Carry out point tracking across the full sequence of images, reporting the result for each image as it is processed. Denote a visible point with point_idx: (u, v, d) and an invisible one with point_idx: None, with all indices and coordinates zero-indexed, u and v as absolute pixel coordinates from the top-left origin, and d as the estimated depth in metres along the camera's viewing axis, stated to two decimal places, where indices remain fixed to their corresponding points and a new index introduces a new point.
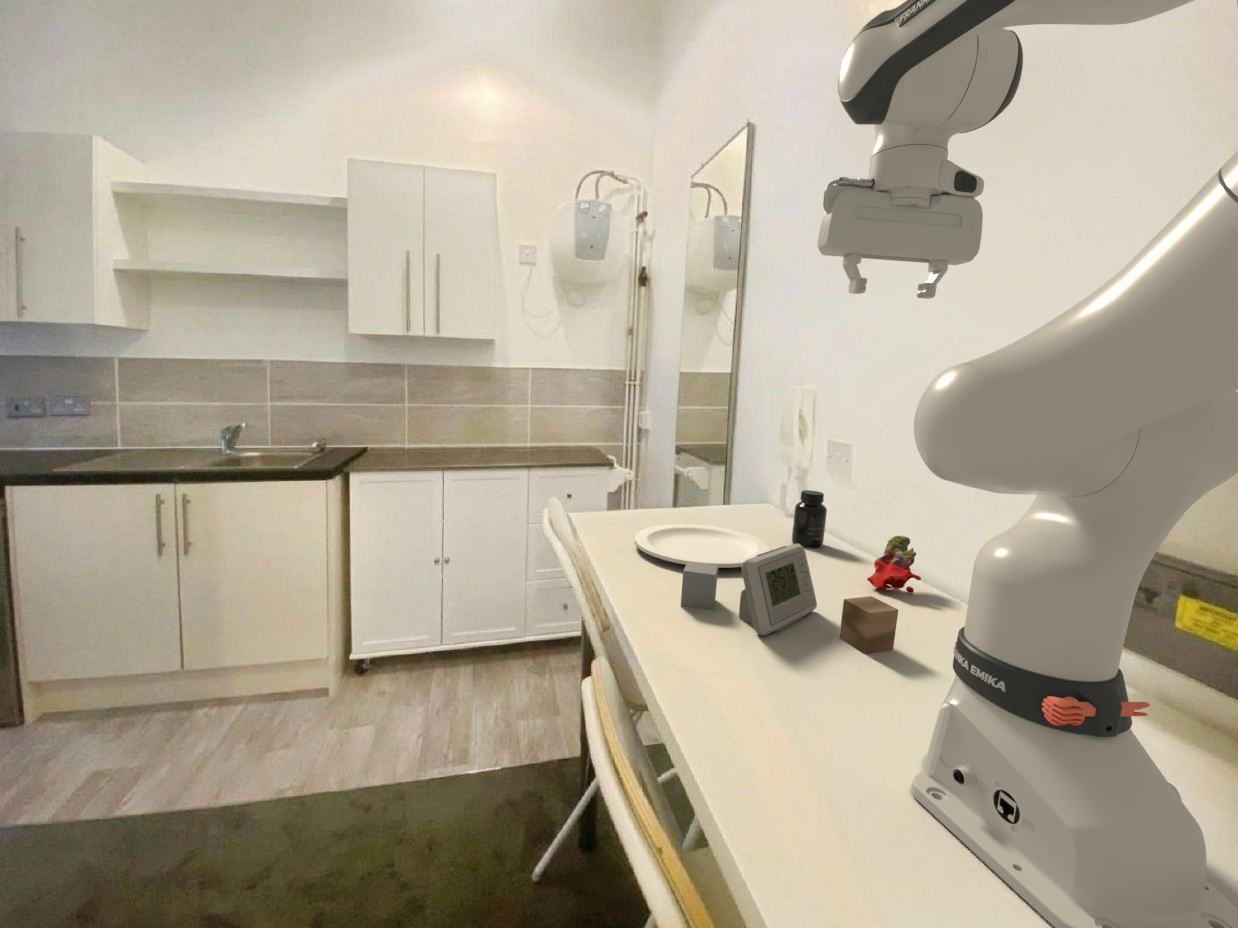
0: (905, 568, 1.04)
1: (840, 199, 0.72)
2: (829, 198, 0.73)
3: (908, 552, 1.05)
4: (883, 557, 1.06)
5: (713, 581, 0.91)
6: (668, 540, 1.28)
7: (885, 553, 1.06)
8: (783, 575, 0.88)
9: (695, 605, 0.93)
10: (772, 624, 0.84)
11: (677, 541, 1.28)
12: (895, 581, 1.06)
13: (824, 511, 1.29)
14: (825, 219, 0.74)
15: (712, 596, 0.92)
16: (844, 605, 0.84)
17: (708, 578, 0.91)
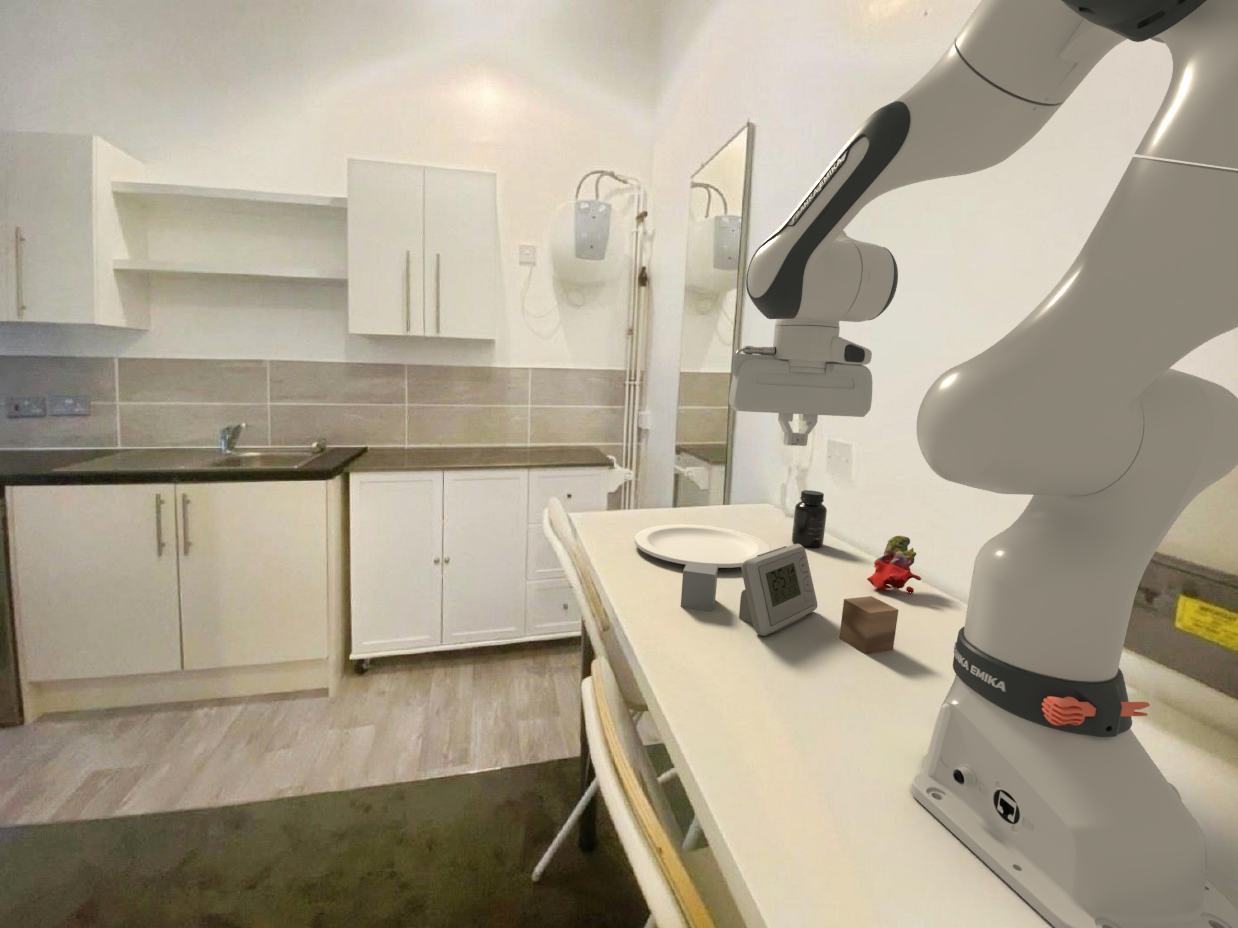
0: (905, 568, 1.04)
1: (745, 368, 0.82)
2: (736, 364, 0.83)
3: (908, 552, 1.05)
4: (883, 557, 1.06)
5: (713, 581, 0.91)
6: (668, 540, 1.28)
7: (885, 553, 1.06)
8: (783, 575, 0.88)
9: (695, 605, 0.93)
10: (772, 624, 0.84)
11: (677, 541, 1.28)
12: (895, 581, 1.06)
13: (824, 511, 1.29)
14: (734, 381, 0.84)
15: (712, 596, 0.92)
16: (844, 605, 0.84)
17: (708, 578, 0.91)
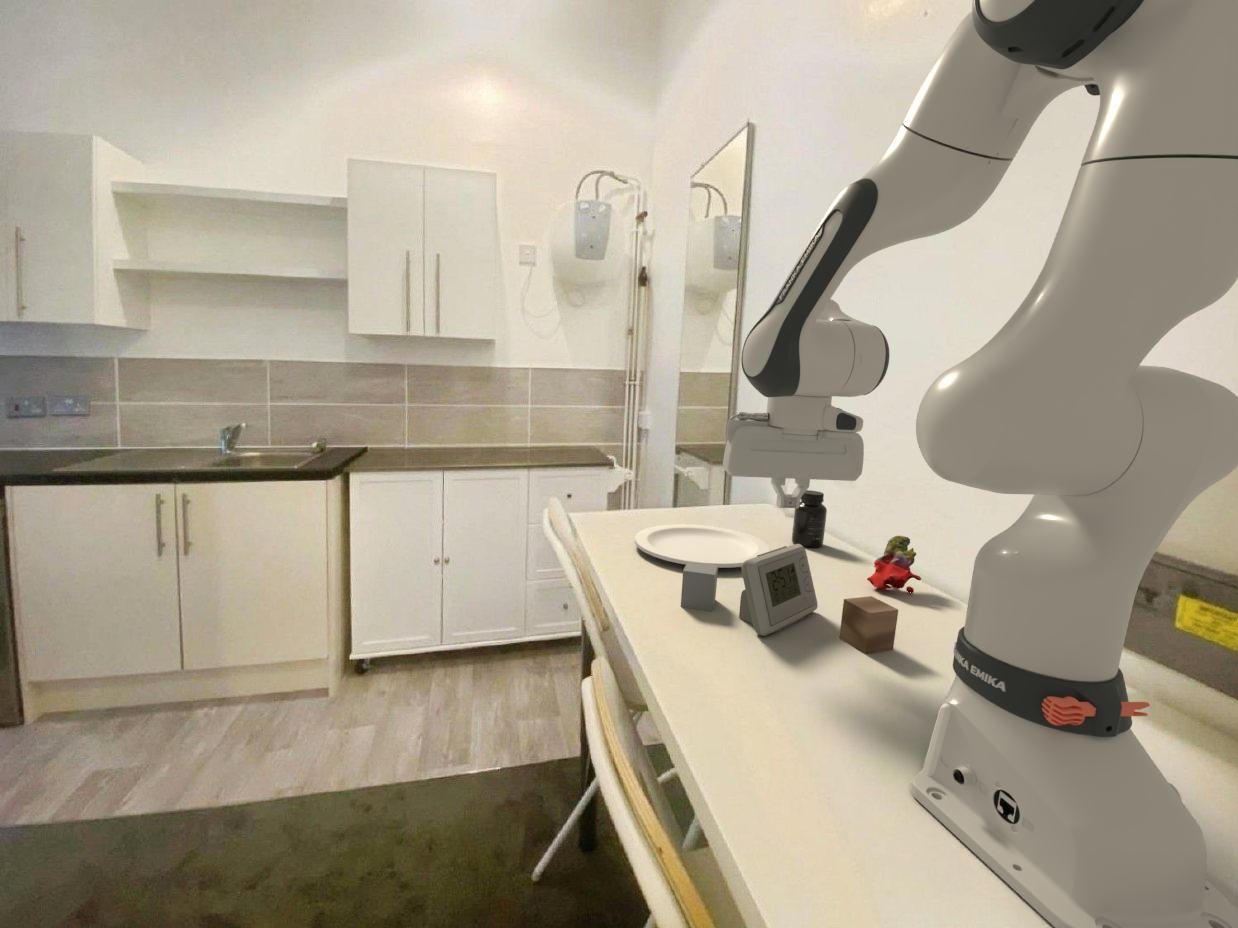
0: (905, 568, 1.04)
1: (739, 435, 0.83)
2: (730, 430, 0.84)
3: (908, 552, 1.05)
4: (883, 557, 1.06)
5: (713, 581, 0.91)
6: (668, 540, 1.28)
7: (885, 553, 1.06)
8: (783, 575, 0.88)
9: (695, 605, 0.93)
10: (772, 624, 0.84)
11: (677, 541, 1.28)
12: (895, 581, 1.06)
13: (824, 511, 1.29)
14: (728, 446, 0.85)
15: (712, 596, 0.92)
16: (844, 605, 0.84)
17: (708, 578, 0.91)
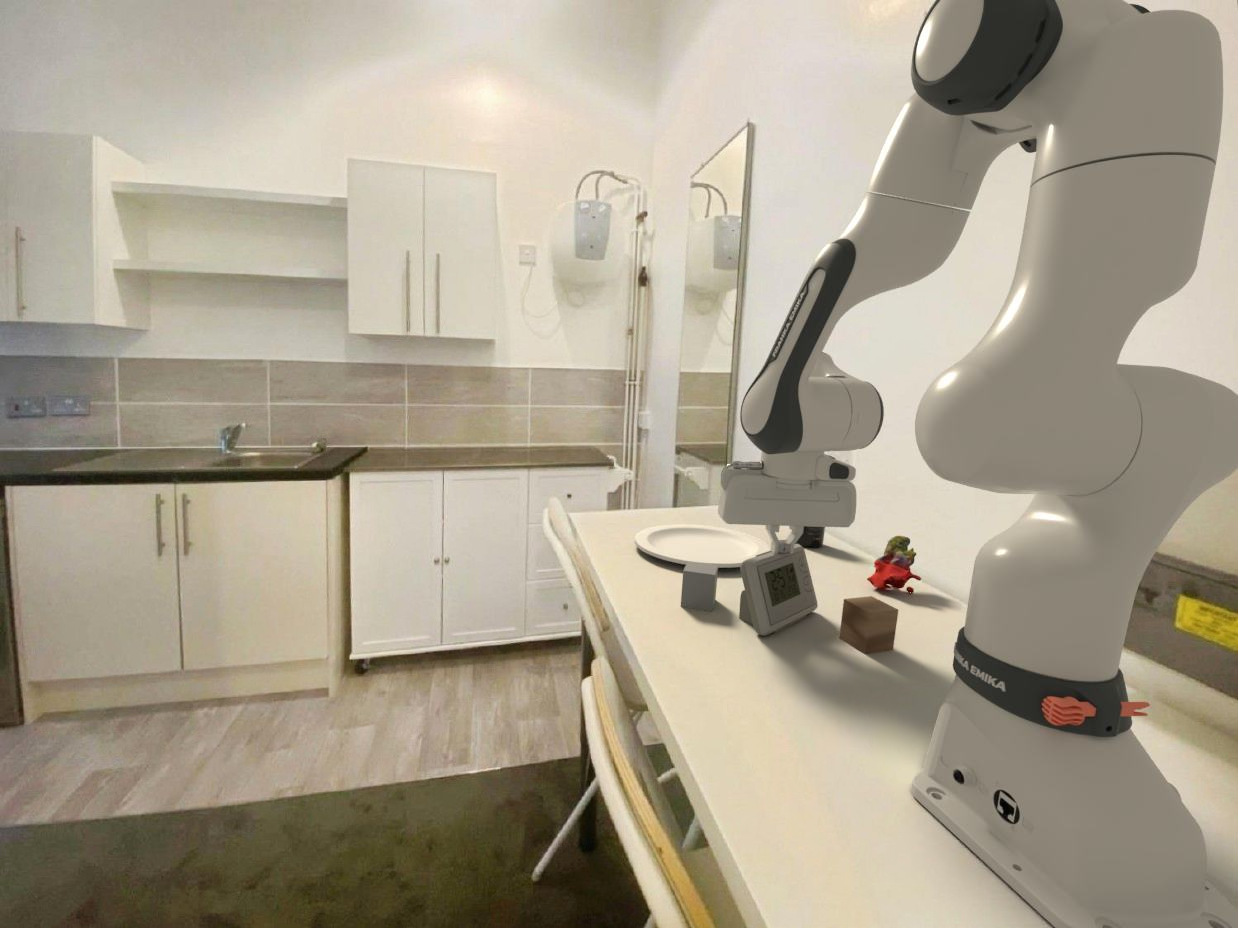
0: (905, 568, 1.04)
1: (733, 484, 0.84)
2: (725, 479, 0.86)
3: (908, 552, 1.05)
4: (883, 557, 1.06)
5: (713, 581, 0.91)
6: (668, 540, 1.28)
7: (885, 553, 1.06)
8: (782, 575, 0.88)
9: (695, 605, 0.93)
10: (772, 624, 0.84)
11: (677, 541, 1.28)
12: (895, 581, 1.06)
13: None
14: (722, 494, 0.87)
15: (712, 596, 0.92)
16: (844, 605, 0.84)
17: (708, 578, 0.91)
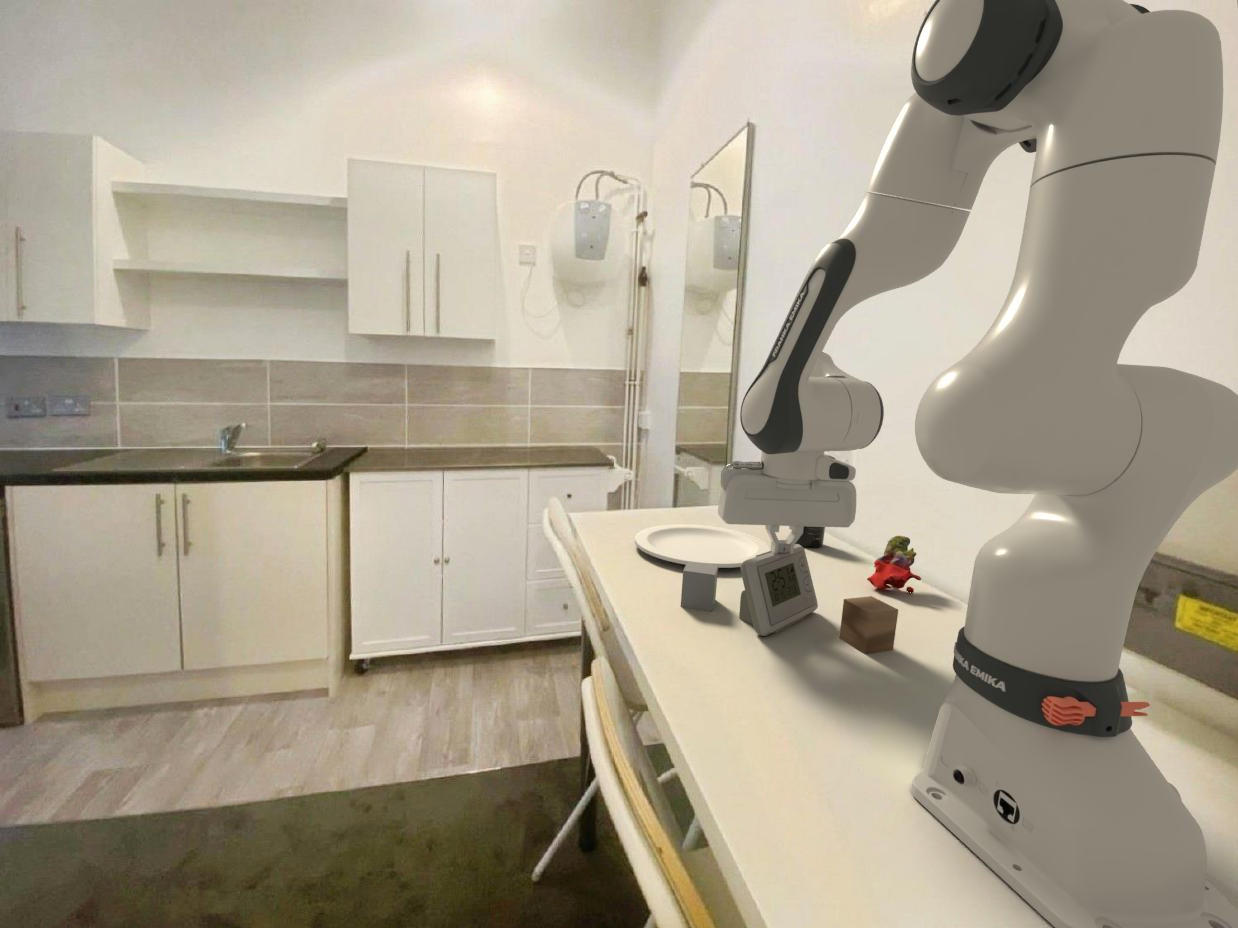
0: (905, 568, 1.04)
1: (733, 484, 0.84)
2: (725, 479, 0.86)
3: (908, 552, 1.05)
4: (883, 557, 1.06)
5: (713, 581, 0.91)
6: (668, 540, 1.28)
7: (885, 553, 1.06)
8: (783, 575, 0.88)
9: (695, 605, 0.93)
10: (772, 624, 0.83)
11: (677, 541, 1.28)
12: (895, 581, 1.06)
13: None
14: (722, 494, 0.87)
15: (712, 596, 0.92)
16: (844, 605, 0.84)
17: (708, 578, 0.91)
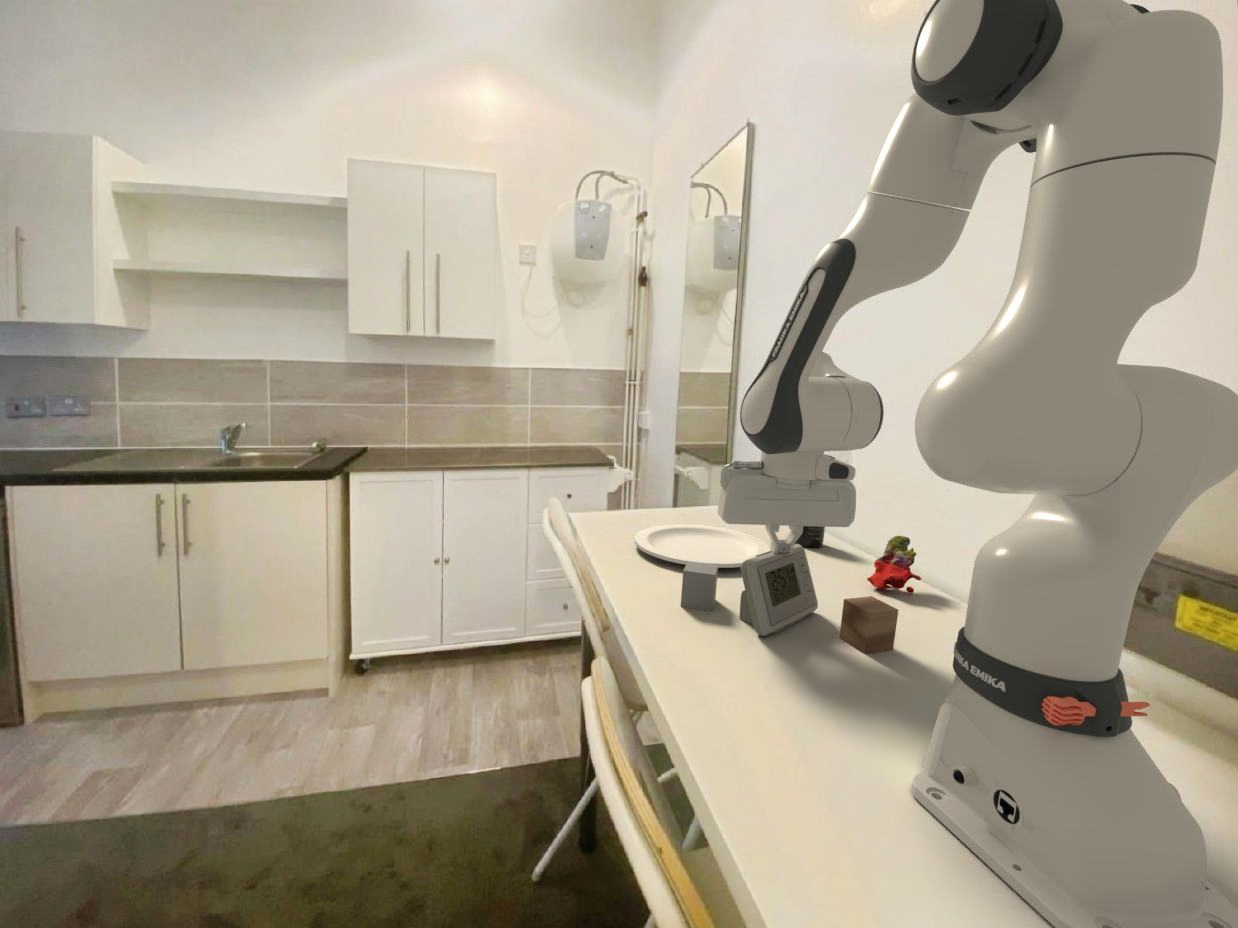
0: (905, 568, 1.04)
1: (733, 484, 0.84)
2: (725, 479, 0.86)
3: (908, 552, 1.05)
4: (883, 557, 1.06)
5: (713, 581, 0.91)
6: (668, 540, 1.28)
7: (885, 553, 1.06)
8: (783, 575, 0.88)
9: (695, 605, 0.93)
10: (772, 624, 0.83)
11: (677, 541, 1.28)
12: (895, 581, 1.06)
13: None
14: (722, 494, 0.87)
15: (712, 596, 0.92)
16: (844, 605, 0.84)
17: (708, 578, 0.91)
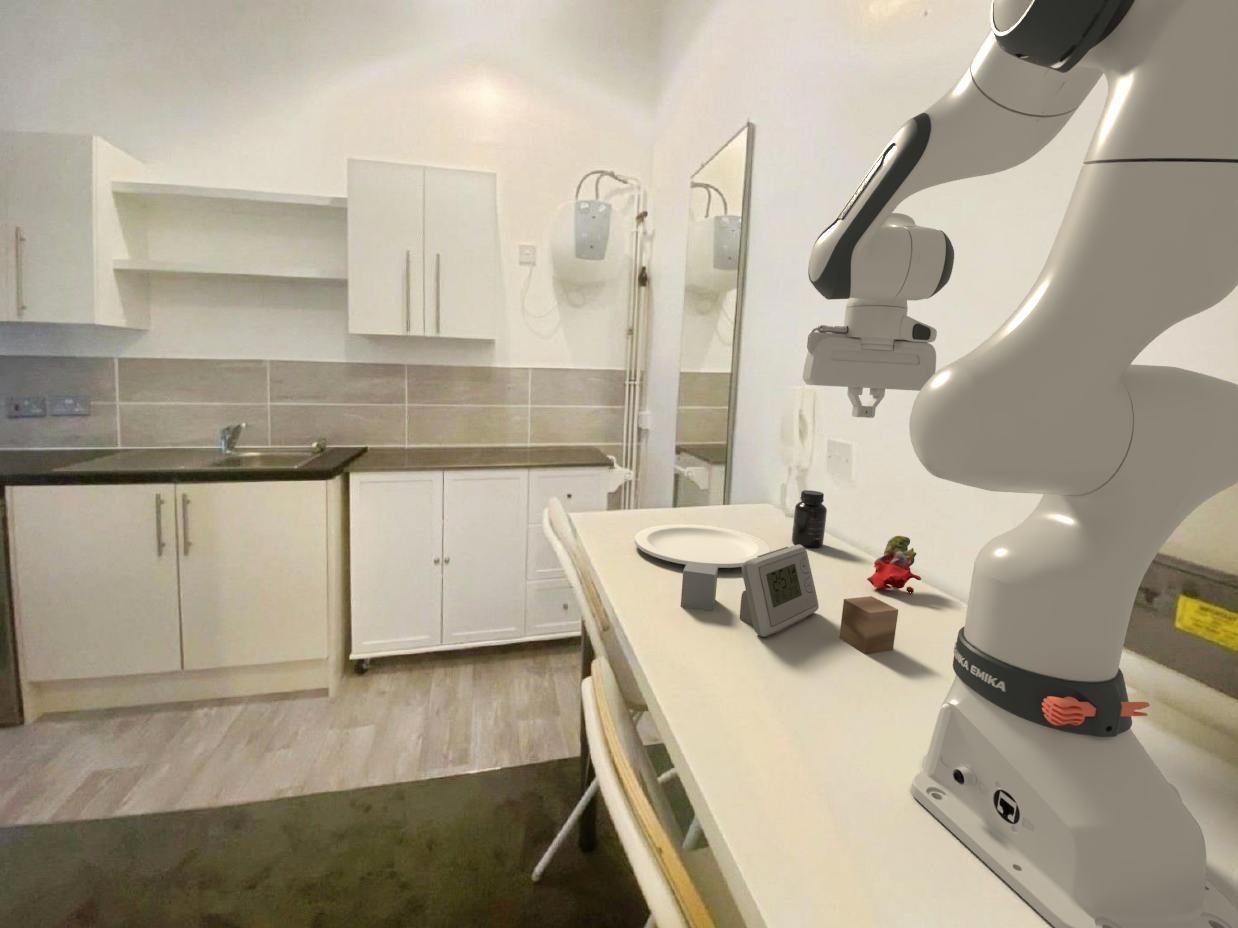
0: (905, 568, 1.04)
1: (821, 345, 0.89)
2: (812, 342, 0.90)
3: (908, 552, 1.05)
4: (883, 557, 1.06)
5: (713, 581, 0.91)
6: (668, 540, 1.28)
7: (885, 553, 1.06)
8: (784, 576, 0.88)
9: (695, 605, 0.93)
10: (772, 625, 0.83)
11: (677, 541, 1.28)
12: (895, 581, 1.06)
13: (824, 511, 1.29)
14: (808, 358, 0.91)
15: (712, 596, 0.92)
16: (844, 605, 0.84)
17: (708, 578, 0.91)
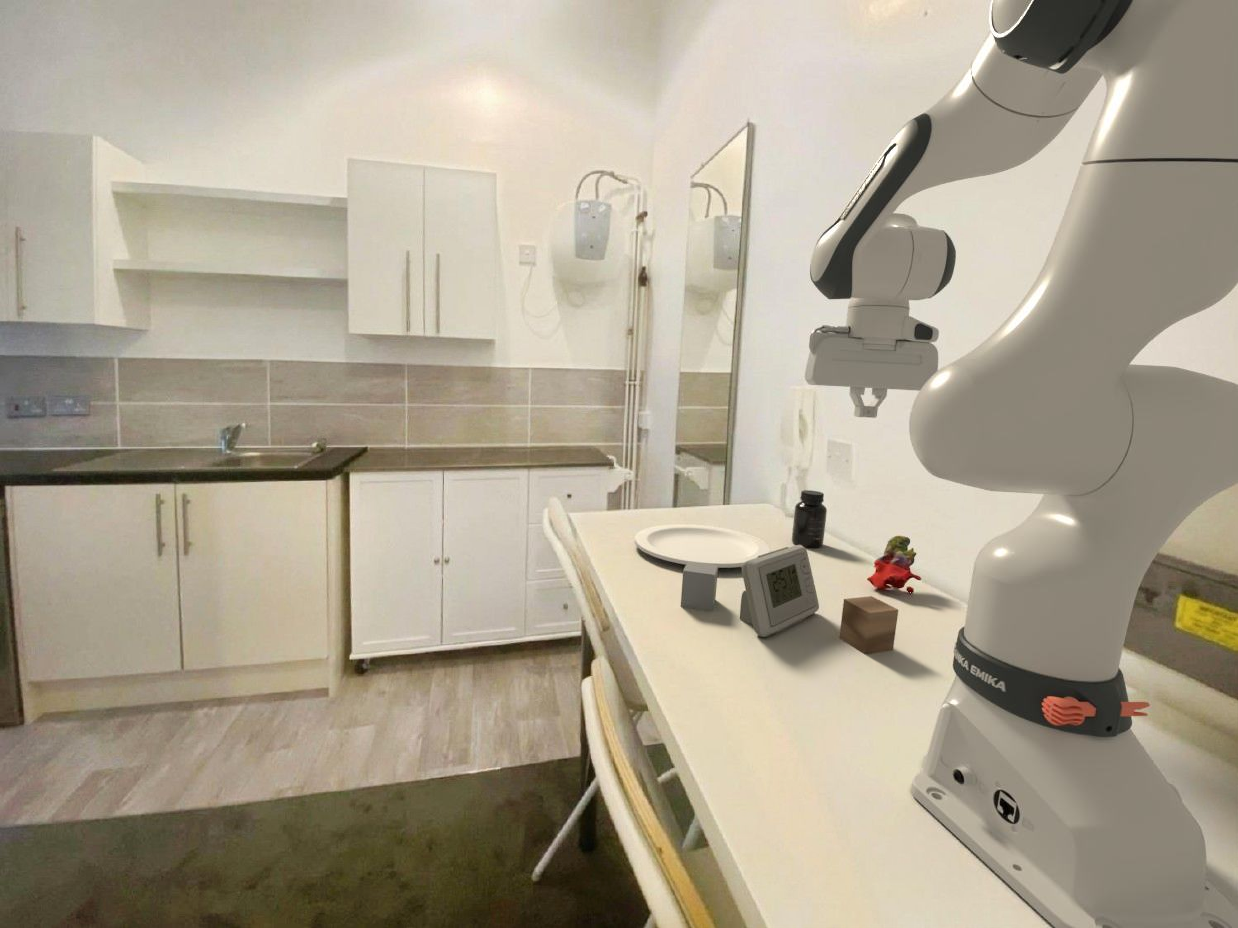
0: (905, 568, 1.04)
1: (823, 345, 0.89)
2: (814, 342, 0.90)
3: (908, 552, 1.05)
4: (883, 557, 1.06)
5: (713, 581, 0.91)
6: (668, 540, 1.28)
7: (885, 553, 1.06)
8: (784, 576, 0.88)
9: (695, 605, 0.93)
10: (772, 626, 0.83)
11: (677, 541, 1.28)
12: (895, 581, 1.06)
13: (824, 511, 1.29)
14: (811, 358, 0.91)
15: (712, 596, 0.92)
16: (844, 605, 0.84)
17: (708, 578, 0.91)
